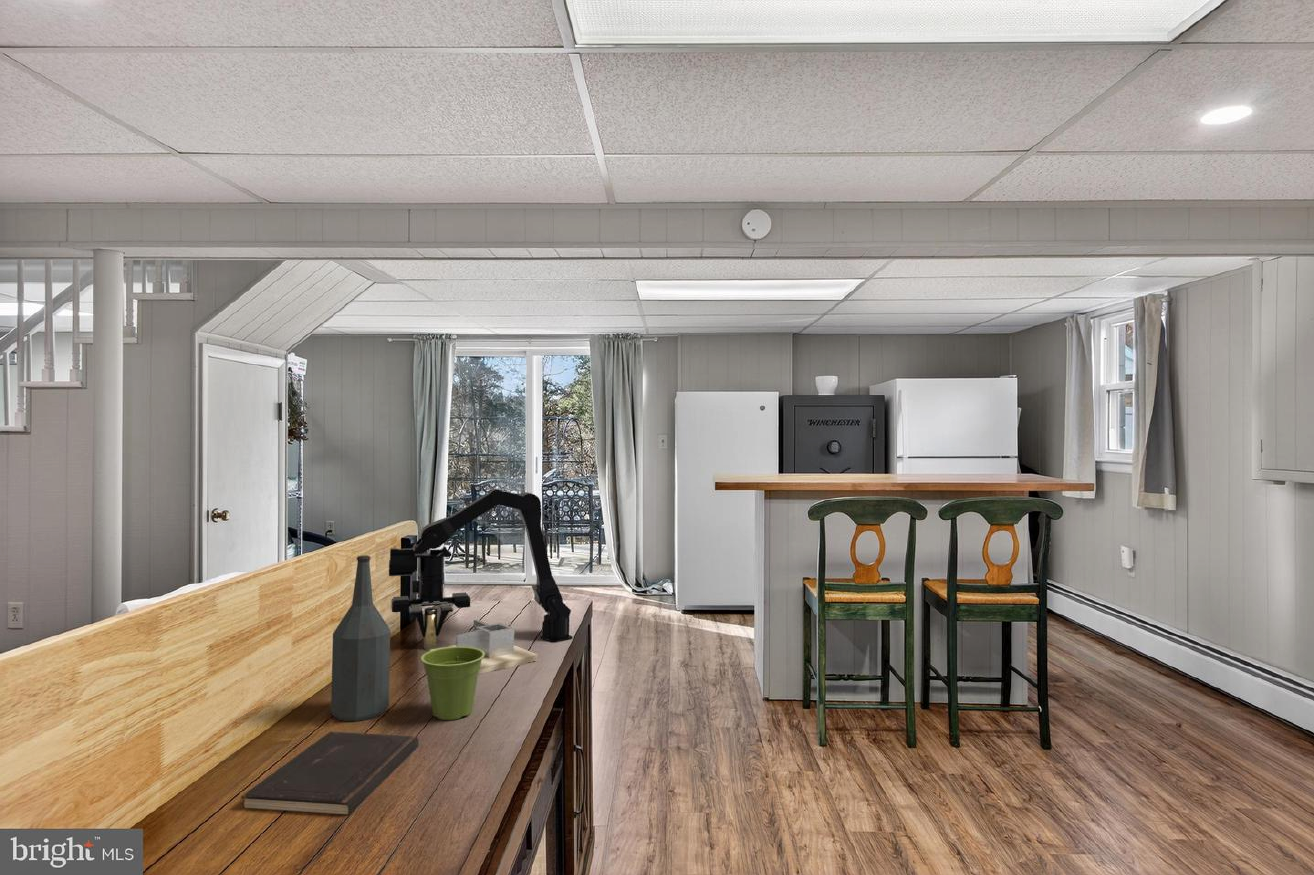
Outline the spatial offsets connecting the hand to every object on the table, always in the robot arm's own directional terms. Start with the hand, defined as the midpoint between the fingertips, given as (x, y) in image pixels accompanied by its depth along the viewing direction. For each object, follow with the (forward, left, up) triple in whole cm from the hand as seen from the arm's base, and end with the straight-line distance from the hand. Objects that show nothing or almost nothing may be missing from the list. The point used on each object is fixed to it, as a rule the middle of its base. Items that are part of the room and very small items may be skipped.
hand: (430, 636), depth 181 cm
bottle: (+29, +32, -3) cm, 43 cm away
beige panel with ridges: (-6, +16, -3) cm, 17 cm away
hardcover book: (+41, +56, -4) cm, 70 cm away
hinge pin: (0, 0, -3) cm, 3 cm away
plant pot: (+16, +44, -3) cm, 47 cm away
